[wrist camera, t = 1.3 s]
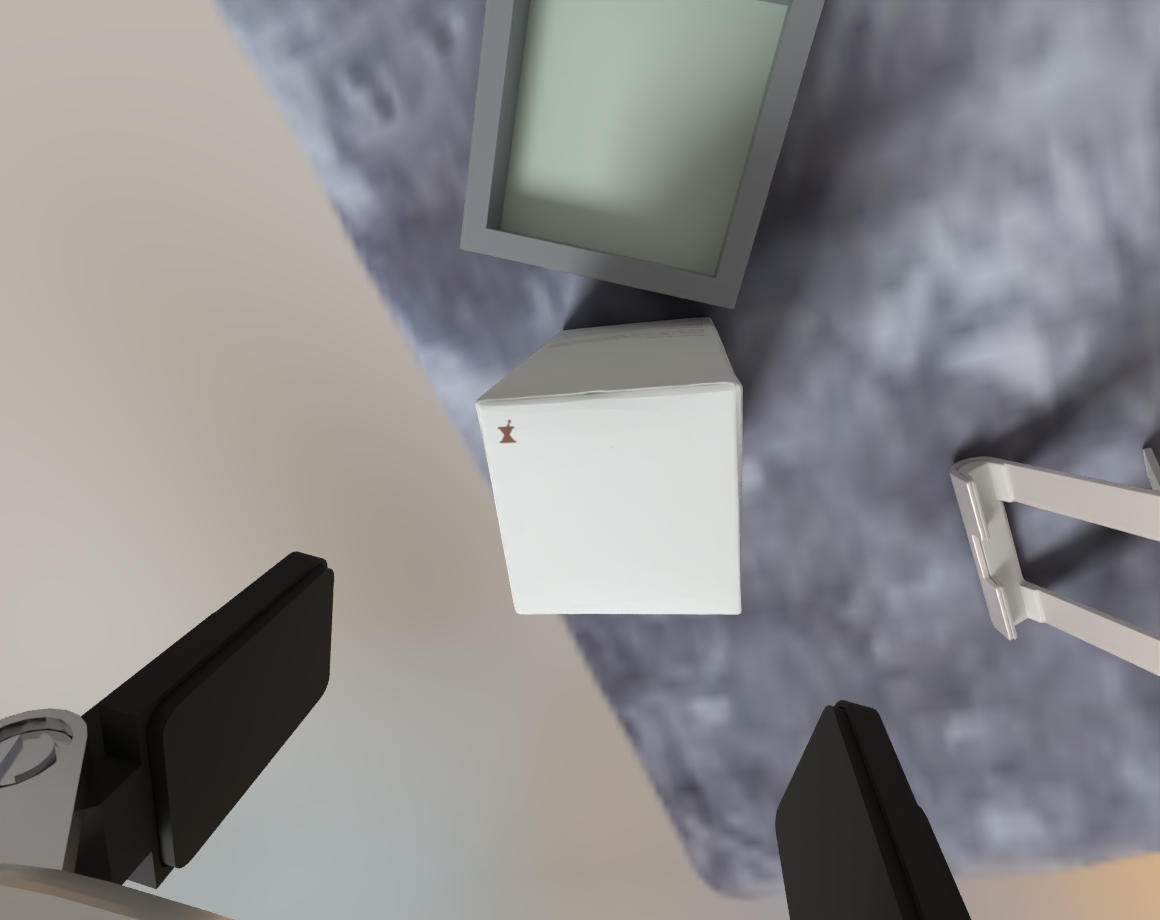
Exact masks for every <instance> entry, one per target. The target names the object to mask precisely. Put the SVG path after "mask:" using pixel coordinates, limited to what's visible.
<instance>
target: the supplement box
mask: <svg viewBox="0 0 1160 920" xmlns="http://www.w3.org/2000/svg"><path fill="white" fill-rule="evenodd" d="M475 405H476V409H477V414H478V419H479V424H480V428H481V433H482V438H483V443H484V448H485V453H486V458H487V463H488V467H489V472H490V477H491V482H492V487H493V493H494V499H495V505H496V510H497V515H498V520H499V526H500V532H501V537H502V543H503V548H504V553H505V559H506V563H507V570H508V575H509V580H510V587H511V591H512V597H513V601H514V606H515V610H516V612H517V613H518V614H736V615H737V614H740V613H741V612H742V611H741V529H742V433H743V386H742V385H741V383H740V381H739V380H738V378H737V377H736V375H735V373H734V371H733V369H732V367H731V364H730V362H729V359H728V357H727V354H726V352H725V349H724V346H723V344H722V342H721V339H720V337H719V334H718V332H717V330H716V328H715V326H714V324H713V322H712V320H711V318H710V317H700V318H685V319H673V320H662V321H651V322H641V323H631V324H621V325H611V326H601V327H591V328H581V329H572V330H562V331H560V332H559V333H558V334H557V335H556V336H555V337H553V338H552V339H551V340H550V341H548V342H547V343H546V344H545V345H544V346H542V347H541V348H540V349H539V350H537V351H536V352H535V353H534V354H532V355H531V356H530V357H529V358H528V359H526V360H525V361H524V362H523V363H521V364H520V365H519V366H518V367H517V368H515V369H514V370H513V371H512V372H510V373H509V374H508V375H507V376H506V377H504V378H503V379H502V380H501V381H500V382H498V383H497V384H496V385H494V386H493V387H492V388H491V389H490V390H489V391H487V392H486V393H485V394H484V395H482V396H481V397H480V398H479V399H478V400H477V401H476V403H475Z"/></svg>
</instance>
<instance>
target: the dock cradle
mask: <svg viewBox="0 0 1160 920" xmlns="http://www.w3.org/2000/svg"><path fill="white" fill-rule="evenodd" d="M824 1H825V0H487V1H486V10H485V19H484V29H483V38H482V47H481V57H480V66H479V75H478V85H477V94H476V103H475V113H474V122H473V131H472V141H471V150H470V159H469V169H468V178H467V188H466V197H465V206H464V216H463V225H462V234H461V244H460V249H463V250H468V251H472V252H477V253H481V254H486V255H490V256H495V257H499V258H504V259H508V260H513V261H517V262H522V263H526V264H531V265H535V266H540V267H544V268H549V269H554V270H558V271H563V272H567V273H572V274H576V275H581V276H585V277H590V278H594V279H599V280H603V281H608V282H612V283H617V284H621V285H626V286H630V287H635V288H639V289H644V290H648V291H653V292H657V293H662V294H666V295H671V296H675V297H680V298H684V299H689V300H693V301H698V302H702V303H707V304H711V305H716V306H720V307H725V308H729V309H734V308H735V304H736V301H737V297H738V294H739V291H740V287H741V284H742V280H743V277H744V274H745V270H746V267H747V263H748V260H749V257H750V253H751V250H752V246H753V243H754V240H755V236H756V233H757V229H758V226H759V223H760V219H761V216H762V212H763V209H764V206H765V202H766V199H767V195H768V192H769V189H770V185H771V182H772V178H773V175H774V172H775V168H776V165H777V161H778V158H779V155H780V151H781V148H782V144H783V141H784V138H785V134H786V131H787V127H788V124H789V120H790V117H791V114H792V110H793V107H794V103H795V100H796V97H797V93H798V90H799V86H800V83H801V80H802V76H803V73H804V69H805V66H806V63H807V59H808V56H809V52H810V49H811V46H812V42H813V39H814V35H815V32H816V29H817V25H818V22H819V18H820V15H821V12H822V8H823V5H824Z"/></svg>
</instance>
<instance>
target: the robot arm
mask: <svg viewBox="0 0 1160 920" xmlns="http://www.w3.org/2000/svg"><path fill="white" fill-rule="evenodd" d="M333 585H334V572H333V570H332V569H329V568H328V567H327V562H326V560H324V559H323V558H319V557H315V556H312V555H308V554H304V553H301V552H292V553H291V554H289V555H288V556H286V557H285V558H284V559H283V560H281V561H280V562H279V563H277V564H276V565H275V566H274V567H273V568H271V569H270V570H268V571H267V572H266V573H265V574H263V575H262V576H261V577H260V578H258V579H257V580H256V581H254V582H253V583H252V584H251V585H249V586H248V587H247V588H246V589H244V590H243V591H242V592H240V593H239V594H238V595H237V596H235V597H234V598H233V599H231V600H230V601H229V602H228V603H226V604H225V605H224V606H223V607H221V608H220V609H219V610H217V611H216V612H215V613H213V614H211V615H210V616H209V617H208V618H206V619H205V620H204V621H202V622H201V623H200V624H199V625H197V626H196V627H195V628H194V629H192V630H191V631H190V632H188V633H187V634H186V635H185V636H183V637H182V638H181V639H180V640H178V641H177V642H176V643H174V644H173V645H172V646H170V647H169V648H168V649H167V650H165V651H164V652H163V653H161V654H160V655H159V656H158V657H156V658H155V659H154V660H153V661H151V662H150V663H149V664H147V665H146V666H145V667H144V668H142V669H141V670H140V671H138V672H137V673H136V674H135V675H134V676H132V677H131V678H130V679H128V680H127V681H126V682H124V683H123V684H122V685H121V686H119V687H118V688H117V689H115V690H114V691H113V692H112V693H110V694H109V695H108V696H107V697H105V698H104V699H103V700H102V701H100V702H99V703H98V704H96V705H95V706H94V707H92V709H90V710H89V711H87V712H86V713H85V714H84V715H82V716H81V717H80V716H79V715H77V714H75V713H72V712H70V711H67V710H60V709H41V710H32V711H27V712H23V713H20V714H16V715H12V716H9V717H6V718H4V719H1V720H0V920H233V919H230V918H227V917H224V916H221V915H218V914H215V913H212V912H209V911H205V910H202V909H199V908H195V907H192V906H189V905H185V904H182V903H179V902H175V901H172V900H169V899H165V898H162V897H159V896H155V895H152V894H149V893H145V892H142V891H138V890H135V889H132V888H129V887H125V886H122V884H123V883H124V882H125V881H126V880H130V881H133V882H136V883H140V884H142V885H146V886H148V887H152V888H154V889H157V888H158V887H159V885H160V884H161V883H162V882H163V881H164V879H165V878H166V877H167V876H168V874H169V873H170V872H171V871H172V870H173V868H174V867H176V868H182V867H184V866H185V865H186V864H188V863H189V861H190V860H191V859H192V858H193V857H194V856H195V855H196V853H197V852H198V851H199V850H200V848H201V847H202V846H203V845H204V843H205V842H206V841H207V840H208V838H209V837H210V836H211V835H212V833H213V832H214V831H215V830H216V828H217V827H218V826H219V825H220V823H221V822H222V821H223V820H224V818H225V817H226V816H227V815H228V813H229V812H230V811H231V810H232V808H233V807H234V806H235V805H236V803H237V802H238V801H239V800H240V798H241V797H242V796H243V794H244V793H245V792H246V791H247V790H248V788H249V787H250V785H252V783H253V782H254V781H255V779H256V778H257V777H258V776H259V775H260V773H261V772H262V771H263V769H264V768H265V767H266V766H267V765H268V763H269V762H270V761H271V759H272V758H273V757H274V756H275V755H276V753H277V752H278V751H279V749H280V748H281V747H282V746H283V745H284V743H285V742H286V741H287V739H288V738H289V737H290V736H291V735H292V733H293V732H294V731H295V730H296V728H297V727H298V726H299V724H300V723H301V722H302V721H303V719H304V718H305V717H306V716H307V714H308V713H309V712H310V710H311V709H312V708H313V707H314V706H315V704H316V703H317V702H318V701H319V699H320V698H321V697H322V695H323V694H324V692H325V690H326V687H327V685H328V681H329V675H330V651H331V631H332V608H333V587H334V586H333ZM775 828H776V836H777V842H778V848H779V854H780V860H781V867H782V873H783V879H784V885H785V891H786V897H787V903H788V909H789V916H790V920H971V918H970V916H969V913H968V911H967V909H966V906H965V904H964V902H963V900H962V897H961V895H960V893H959V890H958V888H957V886H956V883H955V881H954V879H953V876H952V874H951V872H950V869H949V867H948V865H947V862H946V860H945V858H944V855H943V853H942V851H941V849H940V846H939V844H938V842H937V839H936V837H935V835H934V832H933V830H932V828H931V825H930V823H929V821H928V819H927V817H926V815H925V813H924V812H923V810H922V808H920V807H919V806H918V805H917V802H916V800H915V798H914V795H913V793H912V791H911V788H910V786H909V783H908V781H907V779H906V776H905V774H904V772H903V769H902V767H901V765H900V762H899V760H898V758H897V755H896V753H895V751H894V748H893V746H892V743H891V741H890V739H889V736H888V734H887V732H886V729H885V727H884V725H883V722H882V720H881V718H880V715H879V714H878V712H877V711H876V710H875V709H873V708H870V707H866V706H862V705H859V704H855V703H851V702H848V701H844V700H840V701H839V702H837V703H836V705H835V706H827V707H825V709H824V710H823V712H822V715H821V717H820V719H819V721H818V723H817V725H816V727H815V730H814V732H813V734H812V736H811V738H810V740H809V742H808V745H807V747H806V749H805V751H804V753H803V755H802V757H801V760H800V762H799V764H798V766H797V768H796V770H795V772H794V774H793V777H792V779H791V781H790V783H789V785H788V787H787V789H786V792H785V794H784V796H783V798H782V800H781V802H780V804H779V807H778V809H777V814H776V821H775Z"/></svg>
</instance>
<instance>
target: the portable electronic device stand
mask: <svg viewBox="0 0 1160 920" xmlns="http://www.w3.org/2000/svg"><path fill="white" fill-rule="evenodd" d="M1143 456H1144V461H1145V467H1146V472H1147V476H1148V478H1149V480H1150V483H1151V486H1152V490H1151V489H1143V488H1138V487H1133V486H1129V485H1124V484H1119V483H1114V482H1109V481H1105V480H1100V479H1095V478H1090V477H1085V476H1080V475H1076V474H1071V473H1066V472H1061V471H1056V470H1051V469H1047V468H1042V467H1037V466H1032V465H1027V464H1023V463H1018V462H1013V461H1008V460H1003V459H998V458H993V457H988V456H979V457H972V458H967V459H964V460H961V461H958V462H956V463H955V464H953V465H952V466H951V467H950V469H949V473H950V476H951V480H952V483H953V487H954V490H955V494H956V497H957V501H958V504H959V508H960V511H961V515H962V518H963V522H964V525H965V529H966V532H967V536H968V539H969V543H970V547H971V550H972V554H973V557H974V561H975V564H976V568H977V571H978V575H979V578H980V582H981V585H982V589H983V592H984V596H985V599H986V603H987V606H988V610H989V613H990V617H991V621H992V623H993V625H994V627H995V628H996V629H997V630H999V631H1000V632H1001V633H1002V634H1003V635H1004V636H1005V637H1007V638H1008V639H1009V640H1011V639H1013V638H1014V639H1016V638H1017V633H1016V630H1015V626H1014V625H1016V624H1018V623H1020V622H1021V621H1023V620H1025V619H1026V618H1030V619H1033V620H1035V621H1038V622H1045V623H1047V624H1050V625H1052V626H1054V627H1056V628H1058V629H1060V630H1062V631H1064V632H1067V633H1069V634H1071V635H1073V636H1075V637H1077V638H1079V639H1082V640H1084V641H1086V642H1088V643H1090V644H1092V645H1094V646H1097V647H1099V648H1101V649H1103V650H1105V651H1107V652H1109V653H1111V654H1114V655H1116V656H1118V657H1120V658H1122V659H1124V660H1126V661H1129V662H1131V663H1133V664H1135V665H1137V666H1139V667H1141V668H1143V669H1146V670H1148V671H1150V672H1152V673H1154V674H1156V675H1158V676H1160V636H1159V635H1157V634H1154V633H1152V632H1150V631H1147V630H1145V629H1142V628H1140V627H1137V626H1135V625H1133V624H1130V623H1128V622H1125V621H1123V620H1120V619H1118V618H1116V617H1113V616H1111V615H1108V614H1106V613H1103V612H1101V611H1099V610H1096V609H1094V608H1091V607H1089V606H1086V605H1084V604H1081V603H1079V602H1077V601H1074V600H1072V599H1069V598H1067V597H1064V596H1062V595H1060V594H1057V593H1055V592H1052V591H1050V590H1047V589H1045V588H1043V587H1040V586H1038V585H1035V584H1033V583H1030V582H1028V581H1026V580H1024V579H1023V576H1022V573H1021V569H1020V565H1019V561H1018V557H1017V553H1016V549H1015V546H1014V542H1013V538H1012V534H1011V530H1010V526H1009V523H1008V519H1007V515H1006V511H1005V507H1004V503H1003V501H1006V502H1013V501H1016V502H1019V503H1023V504H1026V505H1030V506H1034V507H1037V508H1041V509H1044V510H1048V511H1052V512H1055V513H1059V514H1062V515H1066V516H1070V517H1073V518H1077V519H1080V520H1084V521H1088V522H1091V523H1095V524H1099V525H1102V526H1106V527H1109V528H1113V529H1117V530H1120V531H1124V532H1127V533H1131V534H1135V535H1138V536H1142V537H1145V538H1149V539H1153V540H1157V541H1160V466H1159V464H1158V462H1157V460H1156V458H1155V456H1154V453H1153V450H1152V448H1146V449H1143Z"/></svg>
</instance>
